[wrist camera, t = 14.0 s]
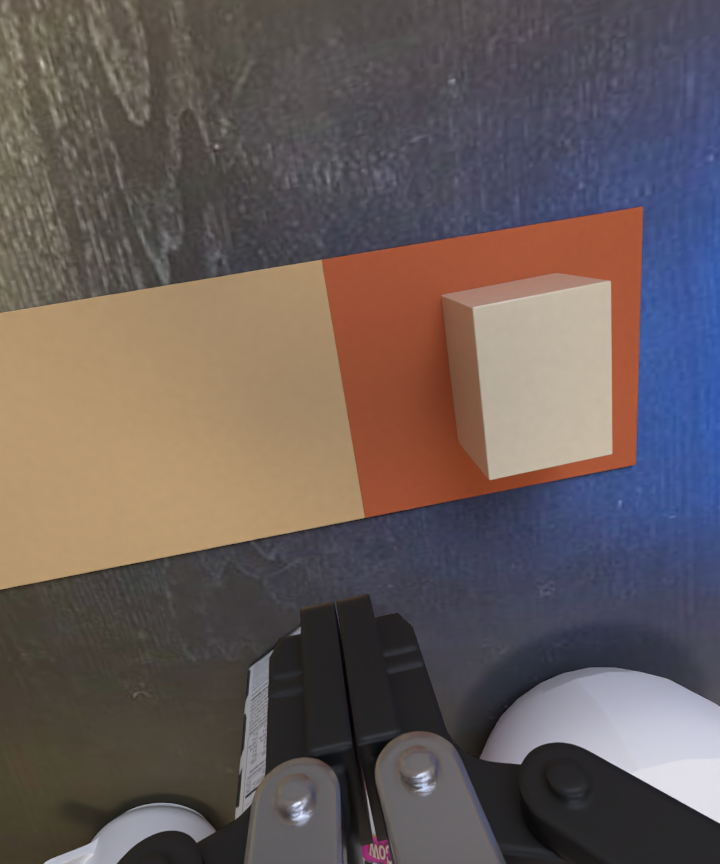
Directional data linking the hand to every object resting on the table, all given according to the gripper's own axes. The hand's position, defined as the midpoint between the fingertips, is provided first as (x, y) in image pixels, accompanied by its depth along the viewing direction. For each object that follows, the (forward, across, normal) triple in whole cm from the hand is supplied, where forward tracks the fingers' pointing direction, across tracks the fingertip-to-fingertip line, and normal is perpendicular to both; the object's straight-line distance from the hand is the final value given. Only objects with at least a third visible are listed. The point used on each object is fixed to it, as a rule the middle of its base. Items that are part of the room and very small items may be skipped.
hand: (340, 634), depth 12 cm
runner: (+18, +2, 0) cm, 18 cm away
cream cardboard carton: (+18, -10, 0) cm, 20 cm away
